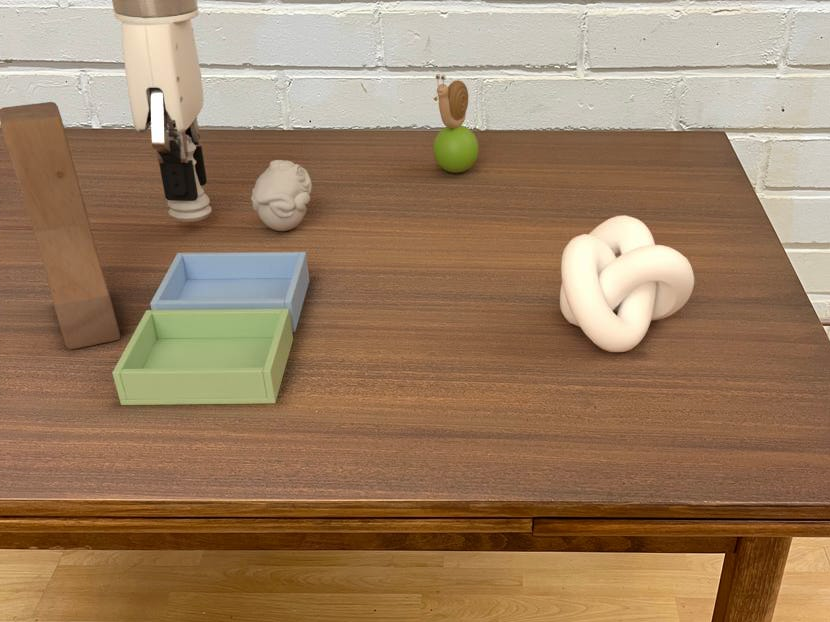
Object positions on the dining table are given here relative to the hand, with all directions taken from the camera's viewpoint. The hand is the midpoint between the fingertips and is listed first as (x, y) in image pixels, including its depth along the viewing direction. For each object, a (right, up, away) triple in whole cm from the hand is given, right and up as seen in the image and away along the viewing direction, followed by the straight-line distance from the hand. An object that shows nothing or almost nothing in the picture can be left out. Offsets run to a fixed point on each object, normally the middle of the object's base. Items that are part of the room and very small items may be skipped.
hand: (186, 190), depth 99 cm
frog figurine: (+10, -3, +3) cm, 11 cm away
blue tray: (+8, -14, -11) cm, 19 cm away
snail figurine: (+27, +7, +16) cm, 32 cm away
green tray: (+8, -21, -20) cm, 30 cm away
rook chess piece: (0, -2, +2) cm, 3 cm away
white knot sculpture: (+42, -17, -14) cm, 47 cm away
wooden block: (-5, -16, -13) cm, 22 cm away
